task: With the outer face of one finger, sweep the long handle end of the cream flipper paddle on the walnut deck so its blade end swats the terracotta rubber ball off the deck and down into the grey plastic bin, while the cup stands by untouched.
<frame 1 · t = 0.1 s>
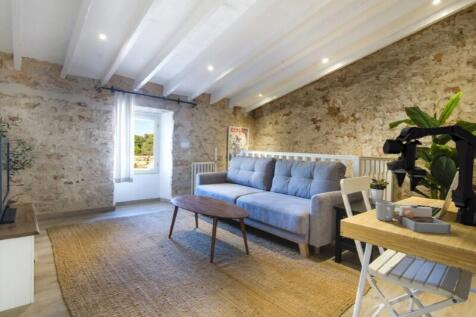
hand: (405, 189, 118), 15 cm above the table, tool pointing down, fingers open, 9 cm apart
ball: (409, 214, 114), point 4 cm above the table, touching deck
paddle: (415, 210, 117), point 5 cm above the table, hinge at 0.0°
cup: (385, 221, 118), on the table
bin: (425, 229, 108), on the table
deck: (412, 221, 118), on the table
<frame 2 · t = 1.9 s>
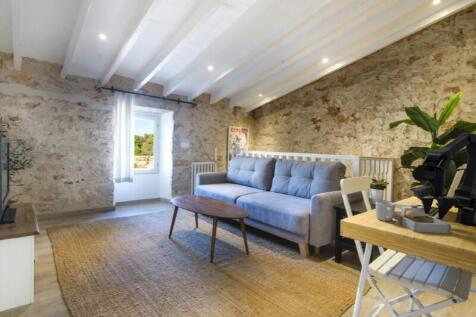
hand: (433, 216, 111), 4 cm above the table, tool pointing down, fingers open, 8 cm apart
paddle: (415, 210, 117), point 5 cm above the table, hinge at 14.2°, touching gripper
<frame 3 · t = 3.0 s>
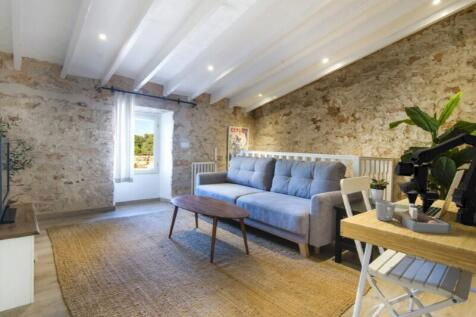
hand: (417, 210, 121), 4 cm above the table, tool pointing down, fingers open, 9 cm apart
ball: (432, 224, 107), point 2 cm above the table, tilted 99°, touching bin
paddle: (413, 210, 117), point 5 cm above the table, hinge at 65.3°
everything else where it was.
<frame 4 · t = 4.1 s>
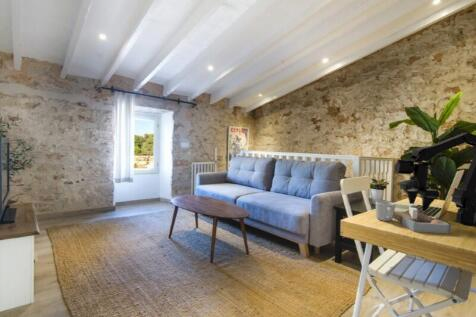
hand: (417, 208, 121), 5 cm above the table, tool pointing down, fingers open, 9 cm apart
ball: (435, 224, 107), point 2 cm above the table, tilted 103°, touching bin
everything else where it was.
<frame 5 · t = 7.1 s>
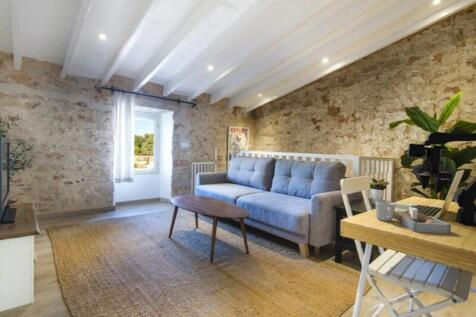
hand: (430, 191, 123), 13 cm above the table, tool pointing down, fingers open, 9 cm apart
ball: (430, 224, 108), point 2 cm above the table, tilted 120°, touching bin
everything else where it was.
at the end: ball inside the target area on the bin (2.0 cm from its centre), point 2.1 cm above the bin's base; ball moved 8.1 cm from its start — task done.
